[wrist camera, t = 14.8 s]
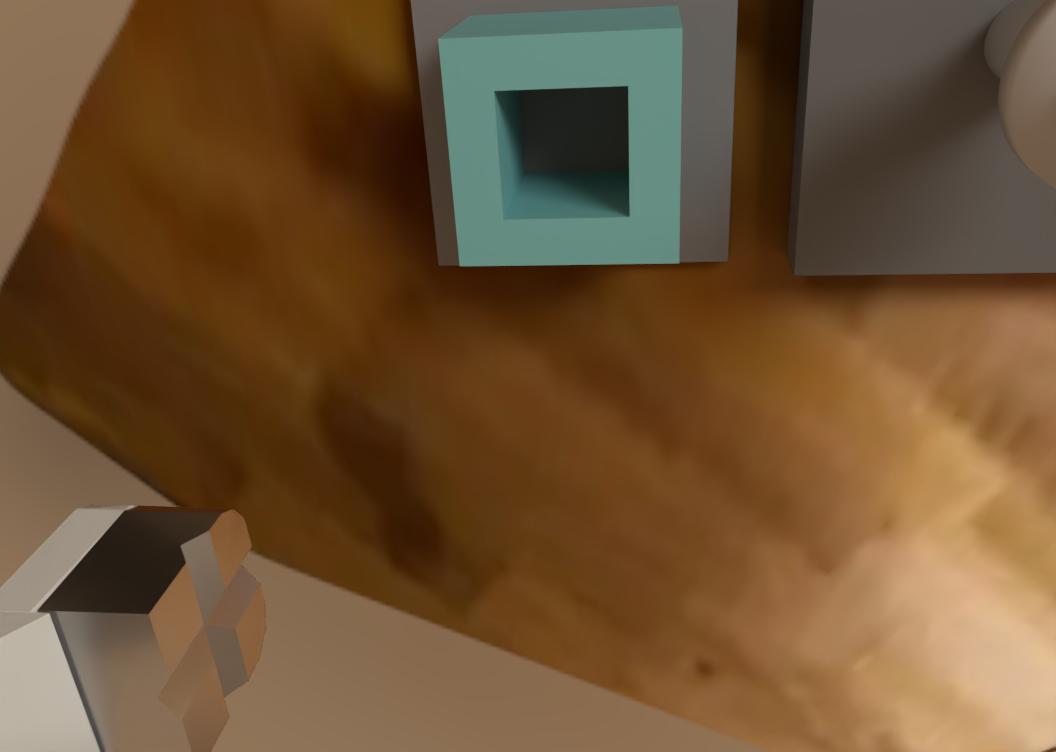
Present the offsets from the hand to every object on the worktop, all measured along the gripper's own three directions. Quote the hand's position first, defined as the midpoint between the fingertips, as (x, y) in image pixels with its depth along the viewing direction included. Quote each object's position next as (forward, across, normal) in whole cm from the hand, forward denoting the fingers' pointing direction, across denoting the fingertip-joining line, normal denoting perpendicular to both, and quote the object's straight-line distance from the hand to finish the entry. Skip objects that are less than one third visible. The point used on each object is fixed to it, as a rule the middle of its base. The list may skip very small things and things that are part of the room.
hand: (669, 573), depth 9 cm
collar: (+24, +3, +1) cm, 24 cm away
